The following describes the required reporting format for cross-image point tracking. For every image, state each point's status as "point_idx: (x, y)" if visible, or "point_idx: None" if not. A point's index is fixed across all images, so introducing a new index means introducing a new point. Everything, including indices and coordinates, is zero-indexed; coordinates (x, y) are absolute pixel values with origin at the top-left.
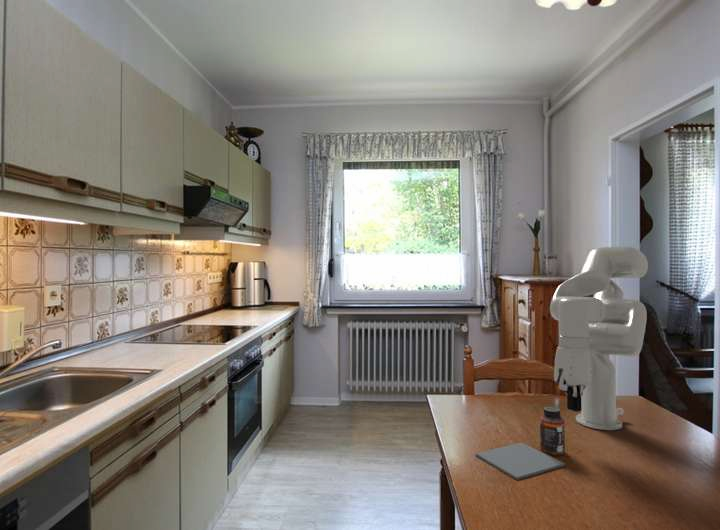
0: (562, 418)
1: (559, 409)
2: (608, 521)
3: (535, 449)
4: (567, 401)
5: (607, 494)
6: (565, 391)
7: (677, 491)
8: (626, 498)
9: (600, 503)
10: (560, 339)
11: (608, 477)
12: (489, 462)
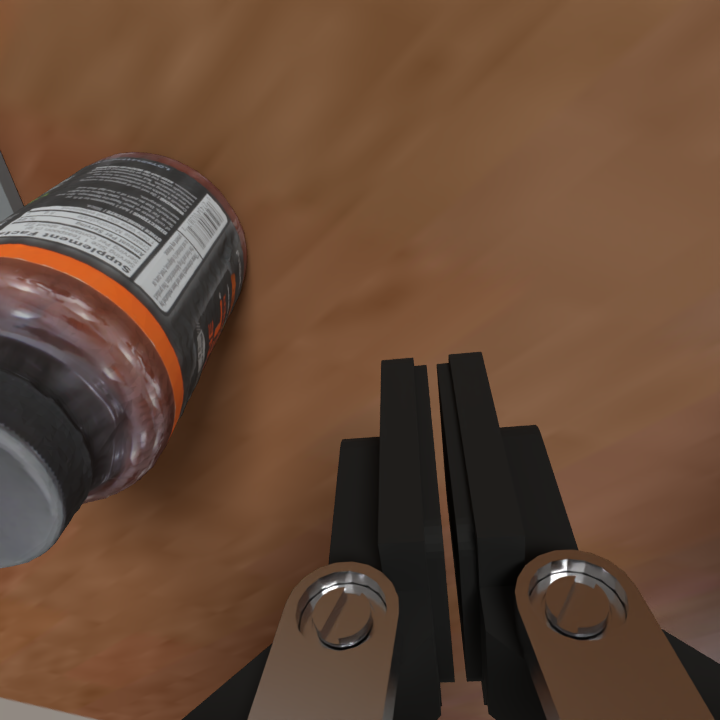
0: (125, 476)
1: (54, 534)
2: (26, 698)
3: (3, 204)
4: (383, 432)
5: (141, 627)
6: (207, 708)
7: (443, 689)
8: (195, 659)
9: (68, 648)
10: None
11: (262, 561)
12: None
